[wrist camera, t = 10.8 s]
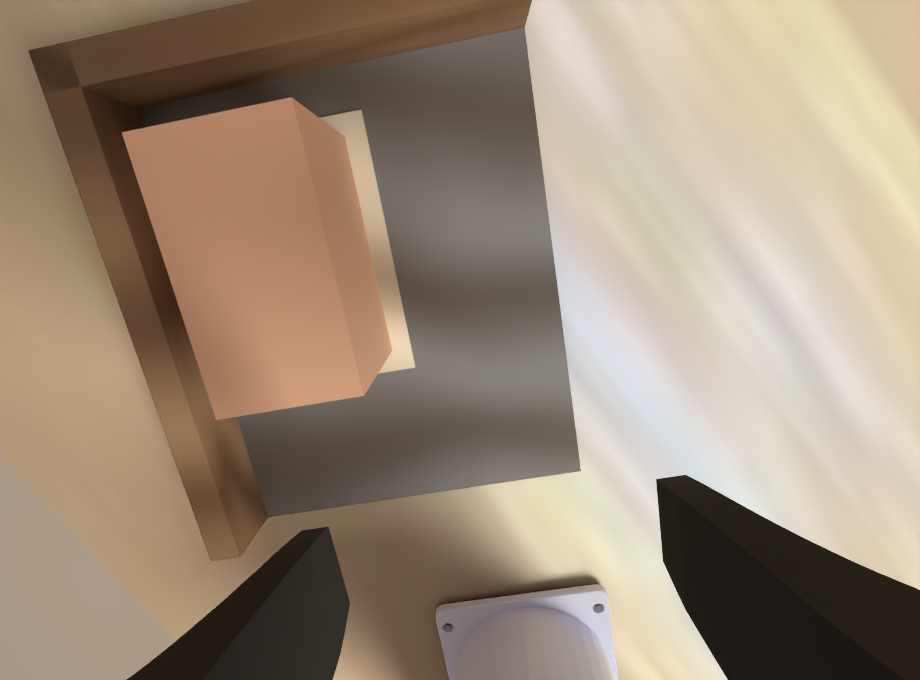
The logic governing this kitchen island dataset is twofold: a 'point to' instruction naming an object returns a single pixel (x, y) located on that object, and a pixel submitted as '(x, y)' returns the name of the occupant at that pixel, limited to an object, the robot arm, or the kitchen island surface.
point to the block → (265, 254)
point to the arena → (388, 232)
